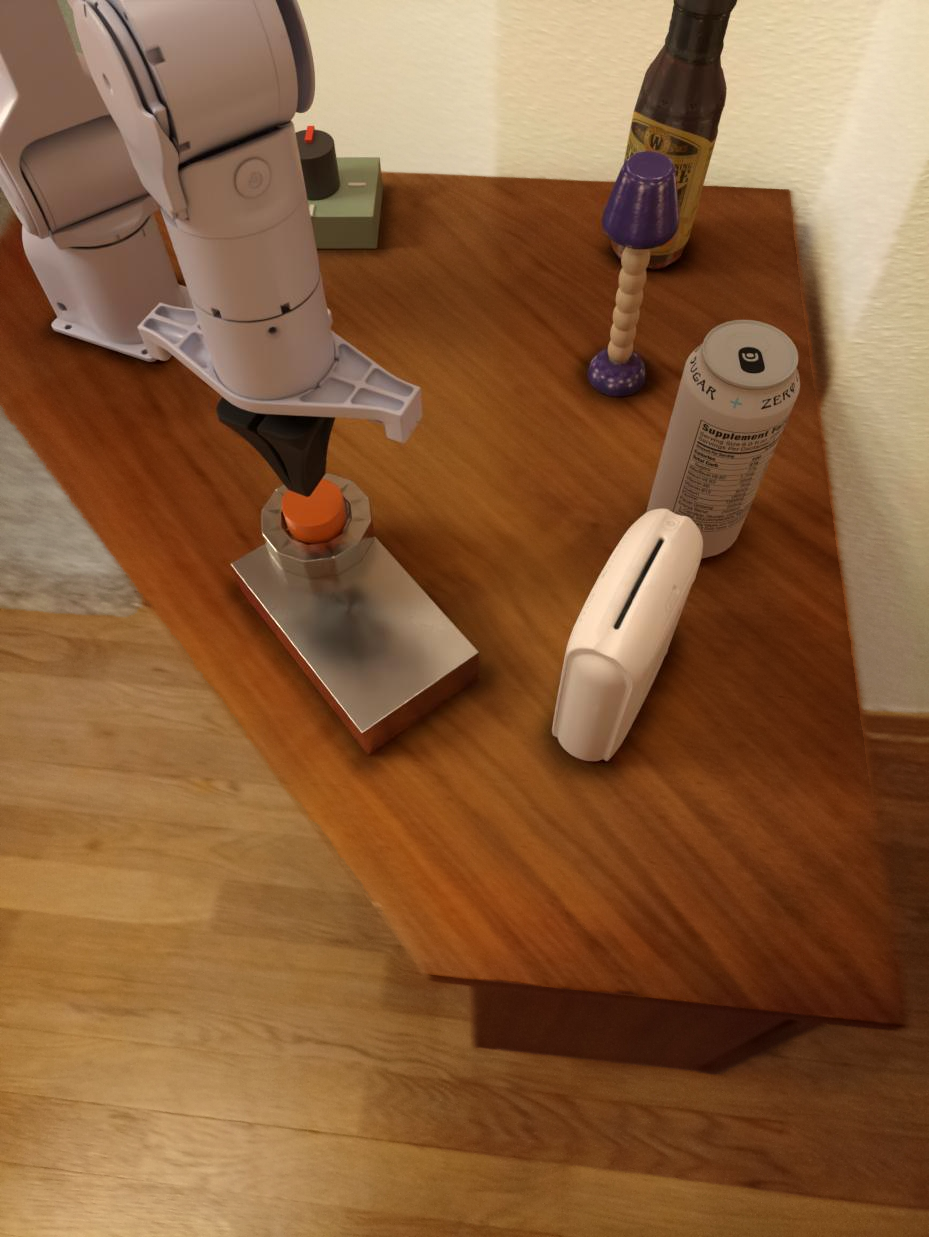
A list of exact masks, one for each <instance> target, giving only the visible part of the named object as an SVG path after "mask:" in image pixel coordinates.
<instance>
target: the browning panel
mask: <svg viewBox="0 0 929 1237" xmlns="http://www.w3.org/2000/svg"><path fill="white" fill-rule="evenodd" d="M336 158H337V165H338V172H339V179H340V186H339V188H338V190H337V191H336V192H335V193H334V194H333V195H331V196H329V197H327V198H323V199H318V200H308V205H309V210H310V216H311V221H312V227H313V232H314V238H315V243H316V249H319V250H321V249H322V250H323V249H324V250H327V249H328V250H330V249H331V250H332V249H333V250H334V249H335V250H337V249H340V250H341V249H343V250H344V249H348V250H349V249H350V250H351V249H353V250H354V249H359V250H361V249H364V250H365V249H366V250H367V249H368V250H371V249H373V250H374V249H377V248H378V241H379V231H380V222H381V213H382V204H383V193H384V186H383V185H384V184H383V176H382V166H381V158H380V157H379V156H368V157H365V156H364V157H363V156H362V157H361V156H360V157H359V156H357V157H356V156H355V157H353V156H352V157H351V156H347V157H345V156H344V157H340V156H339V157H337V156H336Z"/></svg>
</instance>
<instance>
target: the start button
mask: <svg viewBox="0 0 929 1237" xmlns="http://www.w3.org/2000/svg"><path fill="white" fill-rule="evenodd" d="M281 506H282V511H283V514H284V517H285V521H286V524H287V527H288V528H287V530H289V532H290V533H291V534H292V535H293V536H294V537H295V538H296V539H298V540H300V541H302V542H305V543H310V544H319V543H324V542H327V541H329V540H331V539H333V538H335V537H336V536H337V535H339V534H340V533H341V531H342V530H343V529H344V527H345V525H346V521H347V513H346V508H345V504H344V499H343V495H342V492H341V490H340V489H339V487H338V486H337V485H336V484H334V483H333V482H331V481H329V480H326V479H322V480H321V481H320V482H319V484H318V485H317V487H316V488H315V490H314V491H313V493H312V494H311V496H309V497H306V496H303V495H301V494H298V493H295V492H292V491H290V490H287V491H286V492H285V494H284V496H283V499H282V505H281Z"/></svg>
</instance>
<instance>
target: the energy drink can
mask: <svg viewBox="0 0 929 1237" xmlns="http://www.w3.org/2000/svg"><path fill="white" fill-rule="evenodd" d="M798 364H799V351H798V349H797V347H796V344H794V341H793V340H792V339H791V338H790V337H789V336H788V335H787V334H786V333H785V332H783V331H782V330H781V329H779V328H778V327H776V326H773V325H771V324H769V323H766V322H763V321H758V320H754V319H734V320H730V321H726V322H723V323H721V324H718V325H717V326H715V327H713V328H712V329H710V331H709V332H707V334H706V336H705V337H704V339H703V342H702V343H701V344H699V346H697V347H696V348H695V349H694V350H693V351H692V352H691V353H690V354H689V356H688V357H687V359H686V361H685V364H684V368H683V370H682V376H681V379H680V382H679V387H678V389H677V394H676V398H675V401H674V404H673V405H674V406H673V409H672V412H671V416H670V421H669V424H668V427H667V431H666V436H665V438H664V443H663V446H662V451H661V454H660V457H659V462H658V466H657V470H656V473H655V477H654V481H653V484H652V488H651V493H650V496H649V500H648V503H647V507H646V510H645V513H647V512H649V511H652V510H655V509H668V510H670V511H671V512H673V513H675V514H677V515H681V516H687V517H689V518H690V519H691V520H692V521H693V522H694V523H695V524H696V525H697V527H698V529H699V530H700V532H701V535H702V538H703V550H702V557H701V560H702V559H706V558H709V557H713V556H717V555H719V554H721V553H724V552H725V551H727V550H728V549H730V548H731V547H732V545H733V544H734V543H735V542H736V541H737V539H738V537H739V535H740V532H741V531H742V527H743V525H744V523H745V521H746V519H747V516H748V513H749V512H750V509H751V507H752V504H753V502H754V499H755V497H756V495H757V492H758V490H759V487H760V485H761V483H762V481H763V478H764V476H765V474H766V472H767V469H768V467H769V464H770V462H771V461H772V457H773V455H774V453H775V450H776V449H777V448H776V447H777V445H778V443H779V441H780V438H781V436H782V435H783V434H782V433H783V431H784V429H785V427H786V424H787V423H788V420H789V418H790V415H791V412H792V411H793V408H794V406H795V403H796V402H797V399H798V396H799V395H800V389H801V381H800V374H799V370H798V368H797V367H798Z"/></svg>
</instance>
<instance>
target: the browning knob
mask: <svg viewBox="0 0 929 1237" xmlns="http://www.w3.org/2000/svg"><path fill="white" fill-rule="evenodd" d="M295 134H296V139H297V145H298V150H299V155H300V161H301V166H302V172H303V177H304V183H305V188H306V194H307V199H308V200H318V199H323V198H327V197H329V196H331V195H333V194H334V193H335V192H336V191H337V190H338V188H339V186H340V179H339V172H338V165H337V158H336V157H337V152H336V146H335V145H336V144H335V140H334V138H333V136H332V135H331V134H330V133H328V132H327V131H324V130H320V129H316V127H315V125H307V126H306V129H303V130H298V131H295Z"/></svg>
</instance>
